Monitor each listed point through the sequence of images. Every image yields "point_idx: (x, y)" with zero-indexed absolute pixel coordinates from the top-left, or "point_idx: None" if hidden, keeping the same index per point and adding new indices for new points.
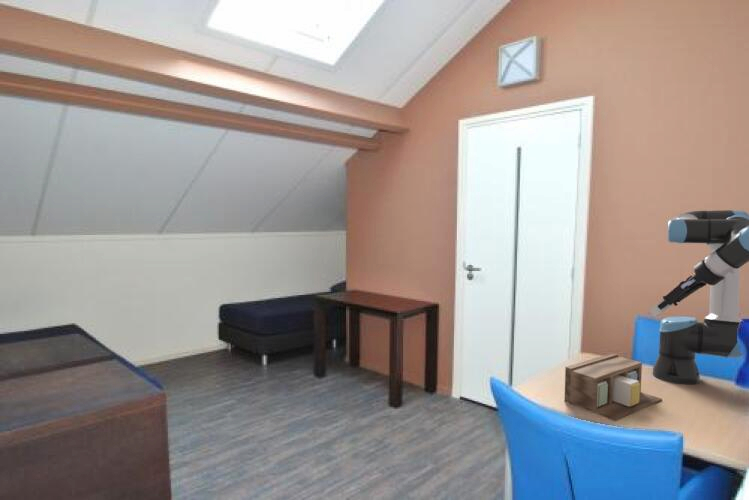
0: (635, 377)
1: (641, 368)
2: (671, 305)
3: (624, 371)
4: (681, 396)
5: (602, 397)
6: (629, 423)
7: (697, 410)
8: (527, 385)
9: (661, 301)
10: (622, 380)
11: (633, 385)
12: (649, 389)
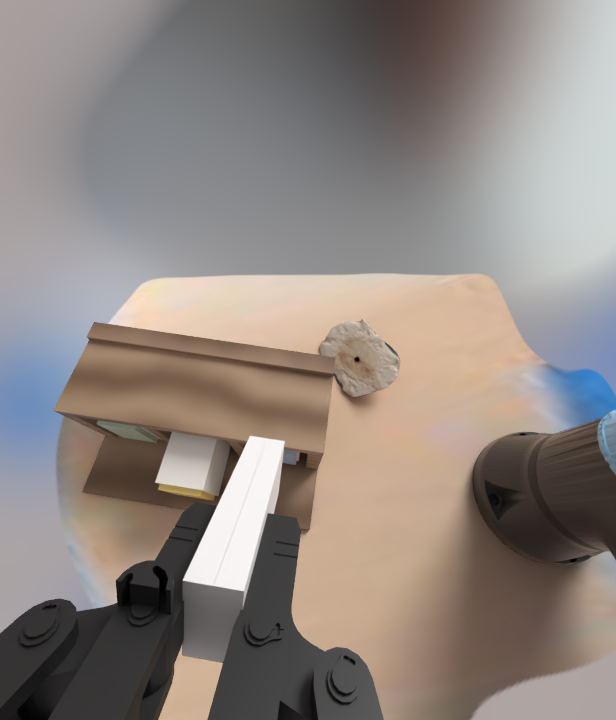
0: (285, 456)
1: (320, 456)
2: (212, 650)
3: (218, 438)
4: (386, 560)
5: (127, 434)
6: (89, 523)
7: (308, 636)
8: (180, 281)
9: (205, 534)
10: (174, 453)
11: (165, 488)
12: (368, 475)
